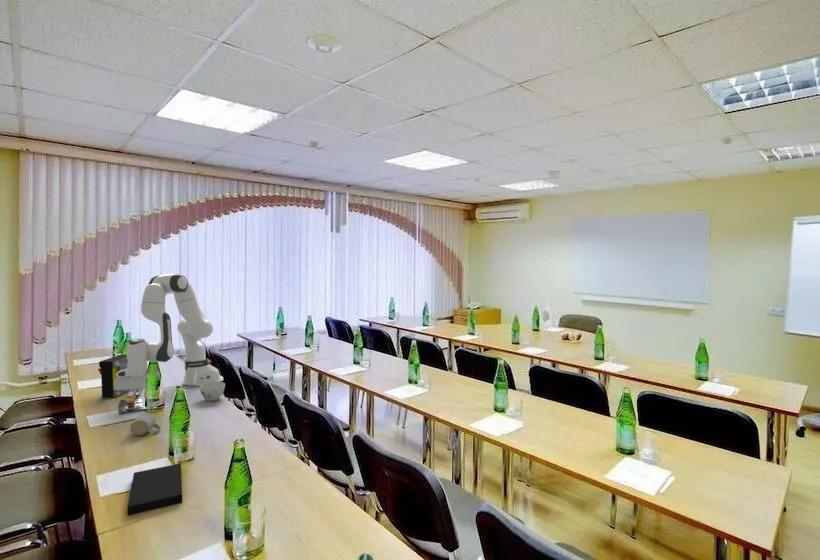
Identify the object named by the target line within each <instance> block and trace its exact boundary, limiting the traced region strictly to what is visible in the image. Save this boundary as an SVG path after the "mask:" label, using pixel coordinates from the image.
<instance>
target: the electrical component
mask: <svg viewBox="0 0 820 560" xmlns="http://www.w3.org/2000/svg"><path fill="white" fill-rule="evenodd" d="M127 364H128V360H127V353H126V354H125V353H122V354H119V355H115V356H113V357H110V358H106V359H103V360H100V361H99V362H98V366H99V368H98V369H97V371H98V372H99V374H100V376H101V398H102V399H114V398H116V397H119V396H121V395H124V394H125V393H128V392H129V390H115V389H114V382H115V378H116V377H117V376H116V373H117V372H119V371H120V370H123V369H126V368H127Z"/></svg>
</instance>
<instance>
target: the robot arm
mask: <svg viewBox="0 0 820 560" xmlns="http://www.w3.org/2000/svg"><path fill="white" fill-rule="evenodd" d="M167 294H173V297H174V301H175V305H176V307H177V310H178V313H179V315H180V316H182V317H183V319H181V320H180V321H179V322H178V323H177V328H176V329H177V331H178V333H179V334H180V335H181V338H182V341H183V344H184V350H185V351H184V352H185V355H184V356H185V357H184V358H185V359H184V377H183V381H182V384H183V385H185V386H194V387H200V386H201V385H203V384H206V383H211V382H223V381H224V377H223V376H222V375H220V372H219V369H218V368H217V367H215V366H213V365H212V360H210V359H208V358H206V345H205V344H204V342H203V340H202V339H205V338H208V337H210V336H211V335H212V334H213V331H214V326H213V324H212V323H211V322H210V321H208V319H207V318H206V317H205V314H204V313H203V312H202V310H201V308H200V305H199V302H198V299H197V296H196V292H195V290H194V289H193V287H192V285H191V283H190V281H188V279H187V277H186V276H185V275H183V274H181V273H167V274H162V275H161V274H160V275H158V274H157V275H155V276H153V277H151V278H150V279H149V282H148V285H146V287H145V289H144V291H143V295H142V299H141V304H140V313H141V315H142V316H143V317H144V318H145V319H147V320H149V321H152V322H154V323H156V324H157V325H158V326H159V329H160V342H147V341H146V339H144V338H134V339H131V340H130V341H129V342H128V343H127V346H126V347H127V348H126V354H127V360H128V364H127V368H126V369H123V370H120V371H119V372H117V373H116V376H117V377H116V378H115V382H114V389H115V390H132V392H133V393H134V395H135V398H140V397H142V396H141V395H142V393H143V392H144V390H145V389H146V379H147V377H148V375H149V372H154V373H156V374H157V375H158V376H159V378H160V376H161V372H160V371H159V370H156V369H154V370H153V369H152V370H153V371H151V369H150V370H148V362H158V363H159V362H160V363H166V362H168V361H169V360H171V359H172V358H173V357H174V354H175V349H174V344H173V337H172V336H173V334H172V321H171V316H170V314H168V313H167V311H166V296H167ZM152 360H153V361H152ZM154 360H155V361H154ZM156 374H155V376H157V375H156ZM137 389H139V392H136V390H137ZM146 390H147V389H146Z"/></svg>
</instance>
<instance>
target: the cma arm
mask: <svg viewBox="0 0 820 560" xmlns="http://www.w3.org/2000/svg"><path fill="white" fill-rule="evenodd" d="M136 392H137V393H139V392H140V391H139V389H137V390H136ZM125 400H126V405H131V404H134V400H135V395H134V393H133V392H132V390H129V391H128V392H127V396H126V397H125Z"/></svg>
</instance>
